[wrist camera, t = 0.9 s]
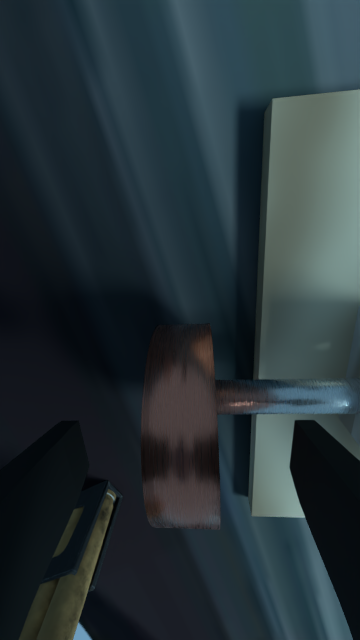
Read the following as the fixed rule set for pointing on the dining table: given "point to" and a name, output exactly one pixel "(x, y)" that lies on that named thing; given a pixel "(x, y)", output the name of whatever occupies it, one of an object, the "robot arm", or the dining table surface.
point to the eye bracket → (306, 276)
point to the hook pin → (208, 421)
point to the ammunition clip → (74, 566)
